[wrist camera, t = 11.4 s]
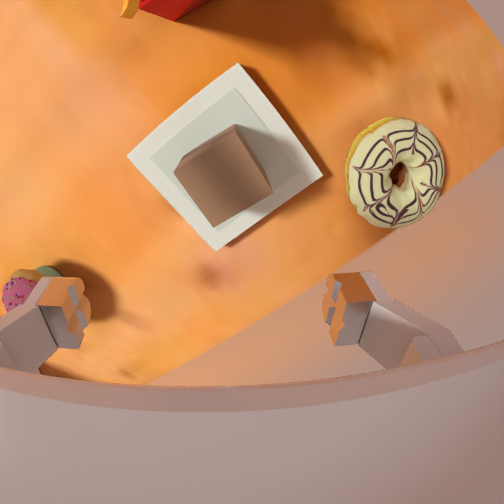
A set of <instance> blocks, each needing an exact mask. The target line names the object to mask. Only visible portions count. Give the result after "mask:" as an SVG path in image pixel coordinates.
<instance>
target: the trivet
mask: <svg viewBox="0 0 504 504" xmlns="http://www.w3.org/2000/svg"><path fill="white" fill-rule="evenodd" d="M233 124H235V125H236V126H237V128H238V130H239V131H240V133H241V134H242V136H243V137H244V139H245V141H246V142H247V144H248V145H249V147H250V148H251V150H252V152H253V153H254V155H255V156H256V158H257V160H258V161H259V163H260V164H261V166H262V168H263V169H264V171H265V173H266V175H267V177H268V180H269V183H270V185H271V188H272V191H273V194H272V195H270V196H268V197H266V198H264V199H263V200H261V201H259V202H257V203H256V204H254V205H252V206H250V207H249V208H247V209H245V210H244V211H242V212H240V213H238V214H237V215H235V216H233V217H231V218H230V219H228V220H226V221H225V222H223V223H221V224H220V225H218V226H216V227H214V228H213V227H212V226H211V224H210V223H209V222H208V220H207V219H206V217H205V216H204V215H203V213H202V212H201V211H200V209H199V208H198V206H197V205H196V204H195V202H194V201H193V200H192V198H191V197H190V196H189V194H188V193H187V191H186V190H185V189H184V187H183V186H182V184H181V183H180V182H179V180H178V179H177V178H176V176H175V175H174V173H173V172H174V170H175V169H176V167H177V165H178V164H179V162H180V160H181V159H182V157H183V156H184V155H186V154H187V153H189V152H190V151H192V150H193V149H195V148H196V147H198V146H199V145H201V144H203V143H204V142H206V141H207V140H209V139H210V138H212V137H214V136H215V135H217V134H218V133H220V132H222V131H223V130H225V129H227V128H228V127H230V126H232V125H233ZM126 157H127V158H128V159H129V160H130V161H131V162H132V163H133V164H134V165H135V166H136V168H137V169H138V170H139V171H140V172H141V173H142V174H143V175H144V176H145V177H146V178H147V179H148V180H149V182H150V183H151V184H152V185H153V186H154V187H155V188H156V189H157V190H158V191H159V192H160V193H161V194H162V196H163V197H164V198H165V199H166V200H167V201H168V202H169V203H170V204H171V205H172V206H173V207H174V208H175V209H176V210H177V211H178V213H179V214H180V215H181V216H182V217H183V218H184V219H185V220H186V221H187V222H188V223H189V224H190V225H191V226H192V227H193V228H194V229H195V230H196V232H197V233H198V234H199V235H200V236H201V237H202V238H203V239H204V240H205V241H206V242H207V243H208V244H209V245H210V246H211V247H212V248H213V249H214V250H215V251H217V250H219V249H220V248H221V247H223V246H224V245H226V244H227V243H228V242H230V241H231V240H232V239H234V238H235V237H237V236H238V235H239V234H241V233H242V232H244V231H245V230H246V229H248V228H249V227H251V226H252V225H253V224H255V223H256V222H258V221H259V220H260V219H262V218H263V217H265V216H266V215H268V214H269V213H270V212H272V211H273V210H275V209H276V208H277V207H279V206H280V205H282V204H283V203H285V202H286V201H287V200H289V199H290V198H292V197H293V196H294V195H296V194H297V193H299V192H300V191H302V190H303V189H304V188H306V187H307V186H309V185H310V184H312V183H313V182H315V181H316V180H317V179H319V178H320V177H322V176H323V174H322V173H321V172H320V170H319V169H318V167H317V166H316V164H315V163H314V161H313V160H312V158H311V157H310V156H309V154H308V153H307V151H306V150H305V148H304V147H303V146H302V144H301V143H300V142H299V140H298V139H297V137H296V136H295V135H294V133H293V132H292V131H291V129H290V128H289V126H288V125H287V124H286V122H285V121H284V120H283V118H282V117H281V116H280V114H279V113H278V112H277V110H276V109H275V108H274V107H273V105H272V104H271V103H270V101H269V100H268V99H267V98H266V96H265V95H264V94H263V93H262V91H261V90H260V89H259V87H258V86H257V85H256V84H255V83H254V81H253V80H252V79H251V78H250V76H249V75H248V74H247V73H246V72H245V70H244V69H243V68H242V67H241V66H240V64H239V63H237V64H236V65H234V66H233V67H231V68H230V69H229V70H227V71H226V72H225V73H223V74H222V75H220V76H219V77H218V78H216V79H215V80H214V81H213V82H211V83H210V84H209V85H207V86H206V87H205V88H203V89H202V90H201V91H200V92H198V93H197V94H196V95H195V96H193V97H192V98H191V99H190V100H189V101H187V102H186V103H185V104H184V105H182V106H181V107H180V108H179V109H178V110H176V111H175V112H174V113H173V114H172V115H171V116H169V117H168V118H167V119H166V120H165V121H164V122H163V123H161V124H160V125H159V126H158V127H157V128H156V129H155V130H154V131H153V132H151V133H150V134H149V135H148V136H147V137H146V138H145V139H144V140H143V141H142V142H141V143H140V144H138V145H137V146H136V147H135V148H134V149H133V150H132V151H131V152H130V153H129V154H128V155H127V156H126Z"/></svg>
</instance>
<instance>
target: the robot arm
mask: <svg viewBox="0 0 504 504" xmlns="http://www.w3.org/2000/svg"><path fill="white" fill-rule="evenodd" d="M326 285H327V288H328V292H327V293H326V294H325V295H324V298H323V305H322V306H323V316H324V319H325V322H326V323H327V324H329V325H330V326H331V327H330V331H329V333H330V335H331V338H332V340H333V343H334V346H343V345H354V344H359V346H360V347H361V348H362V349H363V350H365V351H366V352H367V353H368V354H369V355H370V356H372V357H373V358H374V359H375V360H376V361H377V362H378V363H380V364H381V365H382V366H383V367H384V368H385V369H386V370H381V371H375V372H369V373H363V374H357V375H350V376H343V377H336V378H328V379H320V380H312V381H311V380H310V381H300V382H289V383H276V384H262V385H240V386H202V387H201V386H200V387H198V386H150V385H132V384H118V383H106V382H95V381H86V380H77V379H69V378H62V377H55V376H48V375H42V374H41V373H40V371H39V370H38V368H39V367H40V366H41V365H42V364H43V363H44V362H45V361H46V360H47V359H48V358H49V357H50V356H51V355H52V354H53V353H54V352H55V351H56V350H57V349H58V348H69V349H79V347H80V345H81V342H82V340H83V337H84V333H83V329H84V328H86V327H87V326H88V325H89V322H90V318H91V307H90V302H89V299H88V298H87V297H86V296H85V295H84V294H83V292H84V290H85V286H84V284H83V281H82V279H80V278H75V277H42V278H41V279H40V280H39V282H38V283H37V285H36V286H35V288H34V289H33V291H32V292H31V294H30V295H29V297H28V298H27V300H26V301H25V303H24V304H23V305H18V306H17V307H15V308H14V309H12V310H11V311H9V312H8V313H6V314H4V315H3V316H1V317H0V504H504V340H503V341H500V342H497V343H494V344H490V345H487V346H484V347H480V348H477V349H473V350H470V351H466V352H464V351H463V349H462V348H461V346H460V345H459V343H458V342H457V340H456V339H455V337H454V336H453V335H452V333H451V332H450V330H449V329H447V328H445V327H443V326H442V325H440V324H438V323H436V322H435V321H433V320H431V319H429V318H428V317H426V316H424V315H422V314H421V313H419V312H417V311H415V310H414V309H412V308H410V307H408V306H407V305H405V304H403V303H401V302H399V301H397V300H396V299H391V298H390V296H389V295H388V293H387V292H386V290H385V289H384V288H383V286H382V284H381V283H380V282H379V280H378V279H377V277H376V276H375V274H374V273H373V272H372V271H365V272H356V273H339V274H338V273H337V274H329V276H328V278H327V282H326Z"/></svg>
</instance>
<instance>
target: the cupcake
mask: <svg viewBox="0 0 504 504" xmlns="http://www.w3.org/2000/svg"><path fill="white" fill-rule="evenodd" d="M42 277H62V276H61V274H60V273H59V272H58V271H56V270H55V269H53V268H51V267H48V266H41V267H38V268H37V269H35V270H25V269H19V270H17V271H15V272H14V273H13V274H12V275H11V276H10V277H9V278H8V280H7V282H6V284H5V286H4V288H3V298H2V299H3V303H4V307H5V309H6V310H7V313H8V312H9V311H11V310H12V309H14V308H15V307H17V306H18V305H23V304H24V303H25V301H26V300H27V298H28V297H29V295H30V294H31V292H32V291H33V289H34V288H35V286H36V285H37V283H38V282H39V280H40V279H41V278H42Z"/></svg>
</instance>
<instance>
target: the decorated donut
mask: <svg viewBox="0 0 504 504" xmlns="http://www.w3.org/2000/svg"><path fill="white" fill-rule="evenodd" d="M398 162H399V163H400V164H401V165H402V169H403V170H402V172H403V173H402V178H401V180H400V181H399V182H397V183H395V184H392V180H391V178H390V176H389V174H390V172H391V170H392V169H393V168H394V167H395V165H396V164H397V163H398ZM444 173H445V169H444V158H443V154H442V150H441V148H440V146H439V144H438V142H437V140H436V138H435V137H434V135H433V134H432V133H431V132H430V130H429V129H428V128H426V127H425V126H423V125H421V124H419V123H417V122H415V121H412V120H410V119H406V118H402V117H386V118H383V119H381V120H379V121H377V122H375V123H373V124H371V125H369V126H368V127H367V128H366V129H365V130H363V131H362V132H360V133H359V134H358V135H357V136H356V138H355V140H354V141H353V143H352V145H351V148H350V150H349V152H348V155H347V158H346V163H345V184H346V193H347V196H348V198H349V200H350V202H351V203H352V204H353V205H354V207H355V208H356V209H357V213H358V214H359V215H360V216H362V217H364V218H365V219H366V220H367V221H368V222H369V223H370V224H372V225H374V226H377V227H381V228H400V227H405V226H408V225H410V224H412V223H415V222H416V221H419V220H420V219H422V218H423V217H424V216H425V215H426V214H428V213H429V212H430V211H431V210H432V209H433V208H434V206H435V204H436V202H437V200H438V197H439V194H440V191H441V188H442V184H443V180H444Z"/></svg>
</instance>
